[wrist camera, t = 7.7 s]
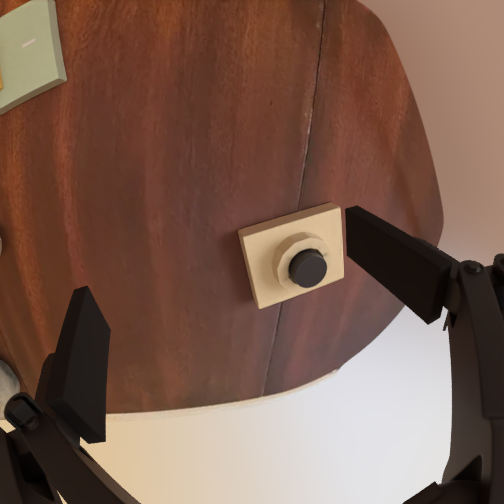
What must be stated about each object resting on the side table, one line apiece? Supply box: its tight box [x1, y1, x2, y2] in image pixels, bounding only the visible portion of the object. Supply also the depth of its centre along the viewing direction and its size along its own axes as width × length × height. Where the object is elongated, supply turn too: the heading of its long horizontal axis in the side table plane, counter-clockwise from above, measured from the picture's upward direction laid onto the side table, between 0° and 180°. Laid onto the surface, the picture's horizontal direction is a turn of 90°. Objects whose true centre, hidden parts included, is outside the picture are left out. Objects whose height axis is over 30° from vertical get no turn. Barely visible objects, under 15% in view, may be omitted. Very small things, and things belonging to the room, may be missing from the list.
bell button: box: [289, 249, 327, 288], centre depth 34 cm, size 4×4×2 cm
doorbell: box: [238, 202, 344, 309], centre depth 36 cm, size 12×10×4 cm
